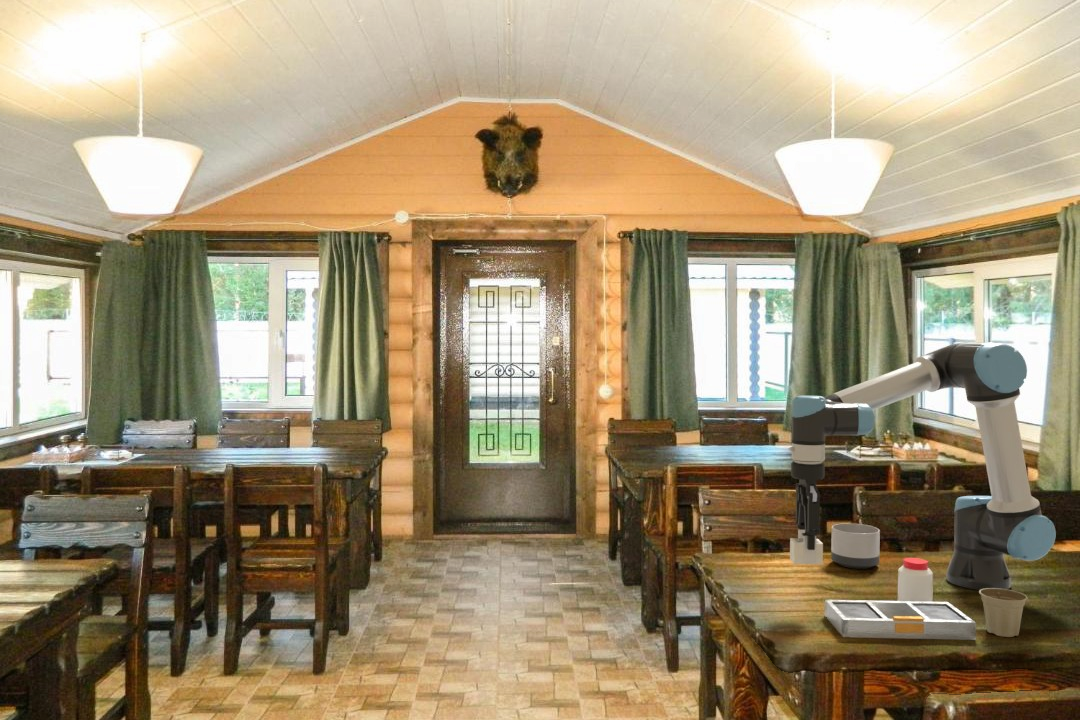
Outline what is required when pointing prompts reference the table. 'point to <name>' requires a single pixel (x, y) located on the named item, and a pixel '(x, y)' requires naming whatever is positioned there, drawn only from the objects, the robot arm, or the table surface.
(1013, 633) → the flower pot
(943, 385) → the robot arm
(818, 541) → the white block
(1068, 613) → the table surface
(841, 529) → the planter
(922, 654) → the table surface
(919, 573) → the pill bottle
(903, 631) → the tray
